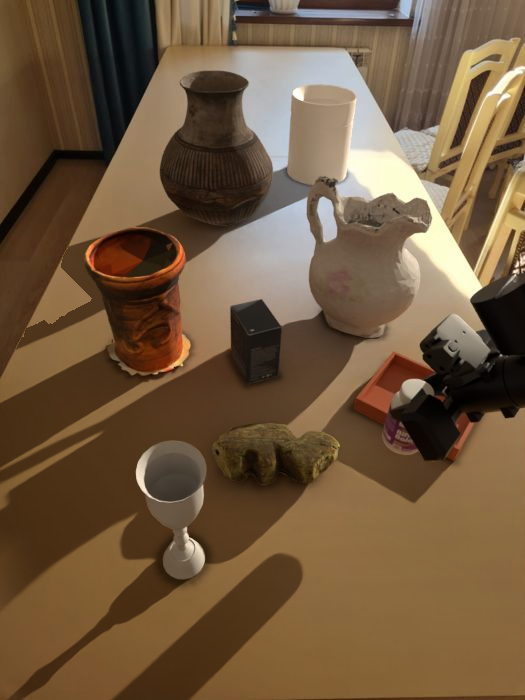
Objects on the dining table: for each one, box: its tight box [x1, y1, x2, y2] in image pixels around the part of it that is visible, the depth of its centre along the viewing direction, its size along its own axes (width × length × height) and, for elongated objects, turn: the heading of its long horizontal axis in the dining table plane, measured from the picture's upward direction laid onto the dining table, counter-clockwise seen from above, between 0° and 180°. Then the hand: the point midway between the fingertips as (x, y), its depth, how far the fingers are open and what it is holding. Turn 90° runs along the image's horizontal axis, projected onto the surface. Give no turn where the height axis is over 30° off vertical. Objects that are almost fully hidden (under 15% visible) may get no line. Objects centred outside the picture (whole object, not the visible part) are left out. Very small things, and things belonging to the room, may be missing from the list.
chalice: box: [135, 439, 208, 580], centre depth 59 cm, size 7×7×18 cm
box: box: [229, 298, 283, 385], centre depth 86 cm, size 8×6×11 cm
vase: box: [159, 70, 274, 227], centre depth 116 cm, size 25×25×30 cm
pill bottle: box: [381, 379, 434, 456], centre depth 68 cm, size 5×5×10 cm
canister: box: [286, 83, 358, 186], centre depth 139 cm, size 16×16×20 cm
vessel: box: [83, 226, 192, 377], centre depth 85 cm, size 14×14×20 cm
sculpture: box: [211, 422, 341, 486], centre depth 74 cm, size 18×5×10 cm
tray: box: [353, 350, 477, 462], centre depth 83 cm, size 16×13×3 cm
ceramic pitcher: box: [306, 176, 433, 339], centre depth 92 cm, size 22×20×25 cm
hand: (402, 401), depth 68 cm, fingers closed on pill bottle, 5 cm apart
